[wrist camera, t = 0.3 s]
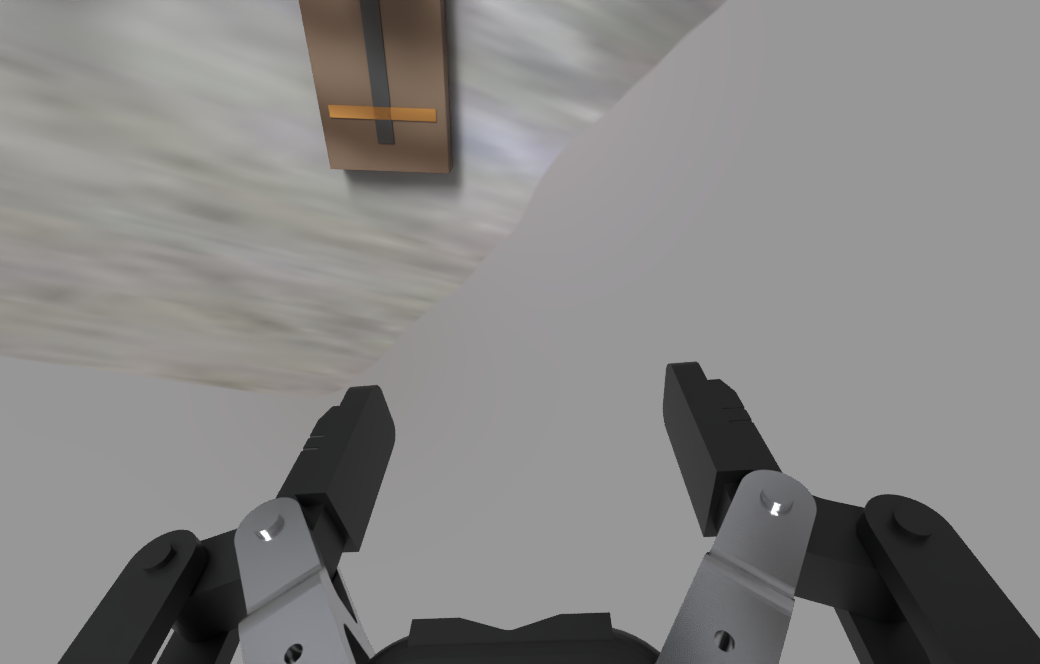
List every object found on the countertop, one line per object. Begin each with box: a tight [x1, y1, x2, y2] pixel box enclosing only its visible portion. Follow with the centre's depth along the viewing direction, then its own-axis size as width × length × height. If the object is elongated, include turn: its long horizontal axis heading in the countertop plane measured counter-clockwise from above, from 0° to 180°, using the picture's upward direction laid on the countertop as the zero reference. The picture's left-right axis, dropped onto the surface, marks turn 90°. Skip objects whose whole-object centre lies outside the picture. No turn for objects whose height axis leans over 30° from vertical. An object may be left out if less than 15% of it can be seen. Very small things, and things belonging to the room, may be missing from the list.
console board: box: [299, 0, 453, 173], centre depth 29 cm, size 20×9×2 cm, turn 178°
